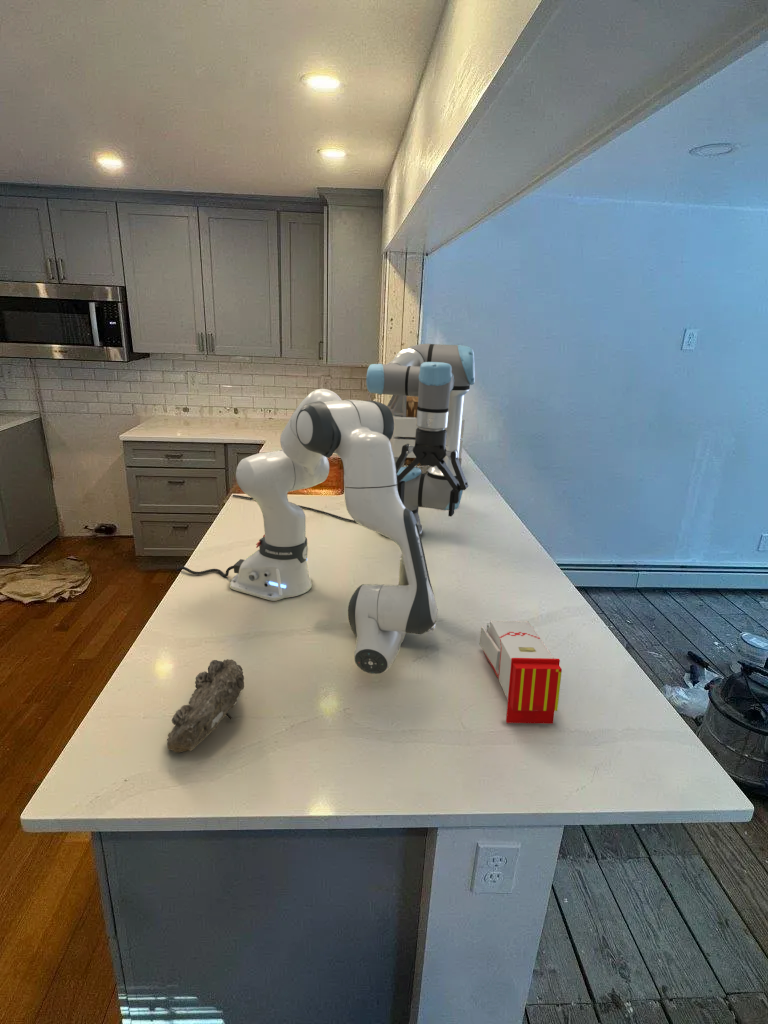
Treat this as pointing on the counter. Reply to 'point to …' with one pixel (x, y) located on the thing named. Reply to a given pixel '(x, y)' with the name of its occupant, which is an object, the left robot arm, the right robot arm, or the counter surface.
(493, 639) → the toy
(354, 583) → the counter surface
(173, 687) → the counter surface
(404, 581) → the bottle
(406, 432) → the white storage drawers
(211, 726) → the fossil
